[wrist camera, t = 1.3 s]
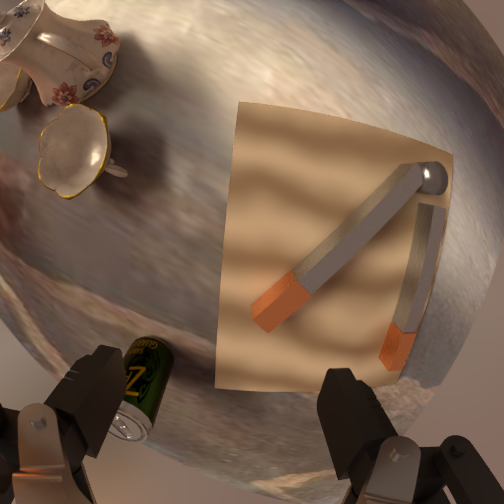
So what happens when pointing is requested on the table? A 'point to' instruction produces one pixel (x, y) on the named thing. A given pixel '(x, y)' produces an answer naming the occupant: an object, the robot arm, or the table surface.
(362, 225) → the tong free arm
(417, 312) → the tong fixed arm
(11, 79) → the chinaware
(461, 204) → the table surface
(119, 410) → the beer can
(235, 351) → the cutting board
